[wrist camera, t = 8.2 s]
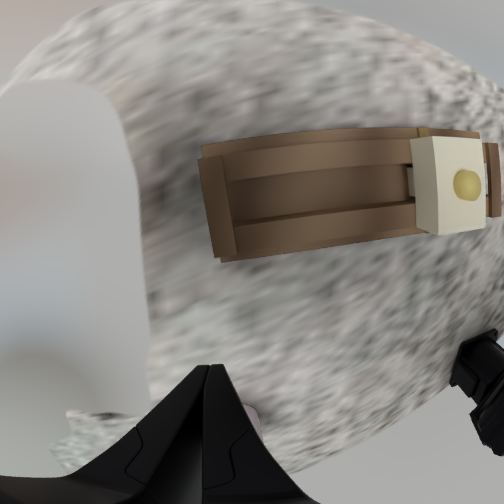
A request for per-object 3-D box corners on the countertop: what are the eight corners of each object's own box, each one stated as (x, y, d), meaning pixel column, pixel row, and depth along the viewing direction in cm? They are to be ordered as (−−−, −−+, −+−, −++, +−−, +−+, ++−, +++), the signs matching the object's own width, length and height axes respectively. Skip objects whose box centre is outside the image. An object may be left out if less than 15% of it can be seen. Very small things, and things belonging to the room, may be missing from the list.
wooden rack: (449, 135, 19) (496, 131, 13) (455, 214, 21) (500, 228, 15) (210, 150, 19) (194, 142, 14) (226, 246, 21) (217, 273, 16)
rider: (443, 141, 15) (490, 138, 11) (448, 216, 17) (493, 230, 12) (397, 141, 15) (440, 134, 11) (404, 222, 17) (446, 239, 12)
